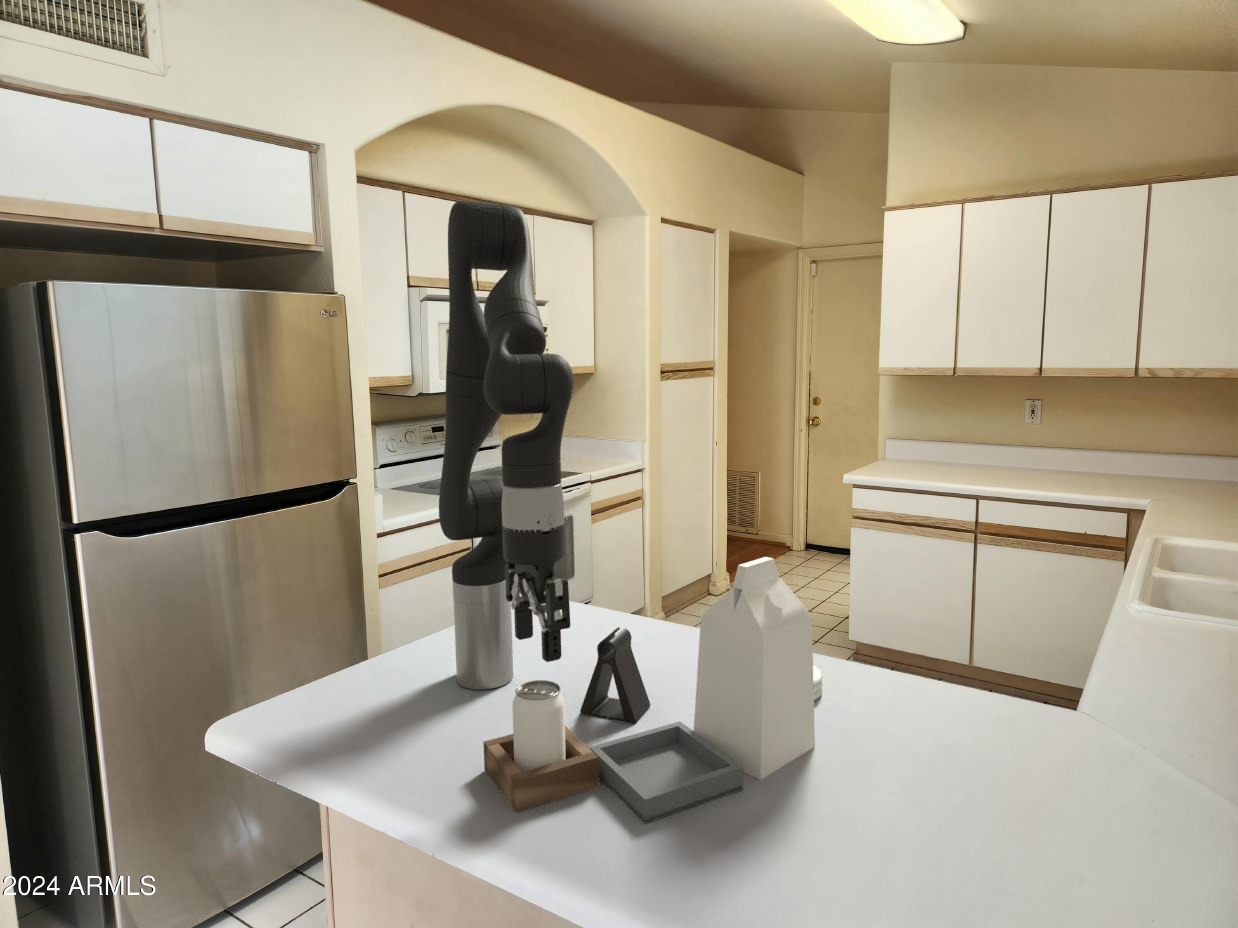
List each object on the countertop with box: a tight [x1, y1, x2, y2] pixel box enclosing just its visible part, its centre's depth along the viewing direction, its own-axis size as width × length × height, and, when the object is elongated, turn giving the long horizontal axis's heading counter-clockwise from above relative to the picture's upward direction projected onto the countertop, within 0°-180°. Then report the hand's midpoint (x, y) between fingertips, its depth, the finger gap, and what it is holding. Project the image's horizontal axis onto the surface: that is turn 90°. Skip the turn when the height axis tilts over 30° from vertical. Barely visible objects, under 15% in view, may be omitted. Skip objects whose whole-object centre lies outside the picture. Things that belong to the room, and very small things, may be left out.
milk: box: [693, 556, 816, 780], centre depth 108 cm, size 12×12×26 cm
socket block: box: [482, 725, 600, 814], centre depth 102 cm, size 11×11×4 cm
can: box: [512, 679, 566, 772], centre depth 101 cm, size 6×6×12 cm
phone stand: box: [579, 627, 651, 725], centre depth 120 cm, size 9×6×12 cm, turn 67°
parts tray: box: [588, 721, 744, 824], centre depth 102 cm, size 14×14×3 cm
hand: (537, 648), depth 100 cm, fingers open, 8 cm apart
